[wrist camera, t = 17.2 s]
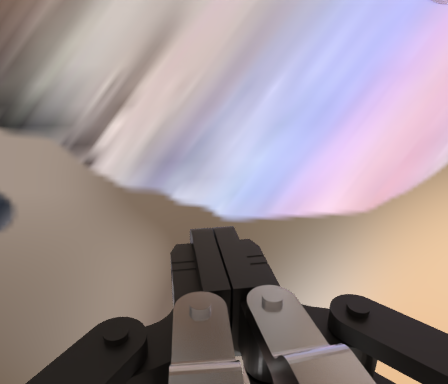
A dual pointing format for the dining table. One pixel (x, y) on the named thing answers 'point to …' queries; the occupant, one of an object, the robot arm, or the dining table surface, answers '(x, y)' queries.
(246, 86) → the dining table surface
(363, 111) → the dining table surface
